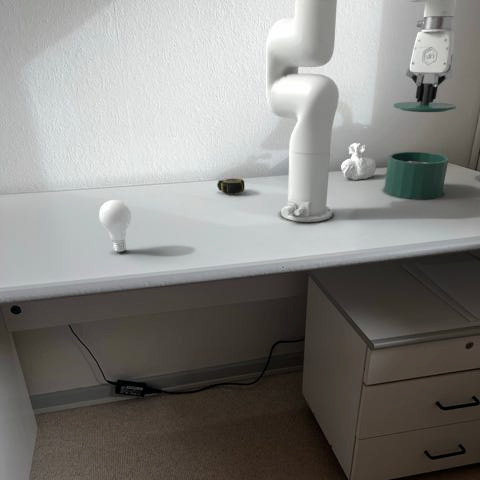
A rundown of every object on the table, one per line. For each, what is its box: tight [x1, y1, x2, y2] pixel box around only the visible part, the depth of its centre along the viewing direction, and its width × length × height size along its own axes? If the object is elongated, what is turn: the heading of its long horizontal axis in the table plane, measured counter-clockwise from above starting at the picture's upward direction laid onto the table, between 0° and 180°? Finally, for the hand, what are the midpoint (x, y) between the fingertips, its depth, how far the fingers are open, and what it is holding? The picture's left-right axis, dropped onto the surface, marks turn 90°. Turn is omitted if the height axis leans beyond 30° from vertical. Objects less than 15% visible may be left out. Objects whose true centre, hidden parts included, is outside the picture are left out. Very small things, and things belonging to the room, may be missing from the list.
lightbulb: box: [98, 199, 132, 254], centre depth 102 cm, size 6×6×11 cm
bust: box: [340, 142, 377, 181], centre depth 154 cm, size 12×8×11 cm
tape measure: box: [216, 178, 245, 196], centre depth 142 cm, size 7×7×4 cm
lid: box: [393, 82, 457, 113], centre depth 138 cm, size 17×17×7 cm
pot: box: [384, 151, 450, 200], centre depth 139 cm, size 16×16×10 cm
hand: (425, 101), depth 139 cm, fingers closed on lid, 2 cm apart
